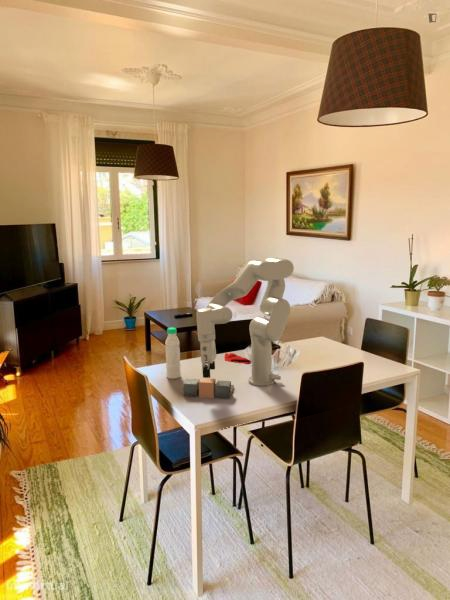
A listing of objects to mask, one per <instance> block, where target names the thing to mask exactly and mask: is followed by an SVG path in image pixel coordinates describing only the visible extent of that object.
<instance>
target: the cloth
mask: <svg viewBox="0 0 450 600" xmlns="http://www.w3.org/2000/svg"><path fill="white" fill-rule="evenodd" d="M224 353H225V354H224V357H223V359H224V361H225V362H229V363H235V364H242V363H243V364H244V365H249V364H252V362H250V361H251V360H250V359H248V358H246V357H242V356H240V355H238V354H236V353H234V352H229V353H227V352H224ZM239 361H240V362H239ZM248 362H249V363H248ZM243 364H242V365H243Z"/></svg>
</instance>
